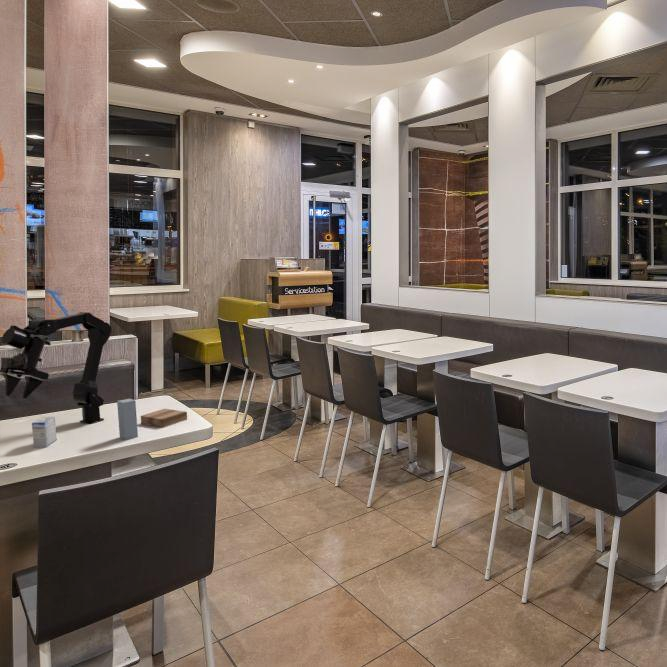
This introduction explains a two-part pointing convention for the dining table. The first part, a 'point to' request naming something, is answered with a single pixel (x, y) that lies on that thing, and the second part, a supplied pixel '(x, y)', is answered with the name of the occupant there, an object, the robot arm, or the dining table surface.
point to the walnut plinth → (164, 417)
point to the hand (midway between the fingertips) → (15, 397)
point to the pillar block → (127, 419)
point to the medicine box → (44, 432)
